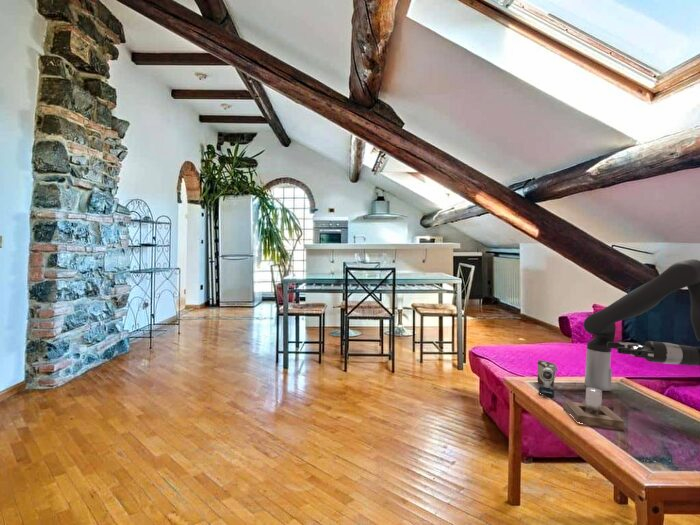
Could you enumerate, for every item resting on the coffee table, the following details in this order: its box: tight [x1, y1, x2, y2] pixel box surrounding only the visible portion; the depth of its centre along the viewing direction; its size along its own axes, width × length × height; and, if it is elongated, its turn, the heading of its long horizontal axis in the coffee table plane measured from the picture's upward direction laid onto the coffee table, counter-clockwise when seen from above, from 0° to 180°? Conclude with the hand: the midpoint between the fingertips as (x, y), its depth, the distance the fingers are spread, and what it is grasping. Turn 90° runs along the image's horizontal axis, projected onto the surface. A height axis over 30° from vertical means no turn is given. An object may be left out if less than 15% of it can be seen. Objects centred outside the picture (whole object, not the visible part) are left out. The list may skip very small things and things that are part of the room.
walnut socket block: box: [563, 400, 625, 431], centre depth 133 cm, size 14×14×4 cm
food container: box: [536, 359, 558, 387], centre depth 169 cm, size 12×6×10 cm, turn 171°
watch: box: [538, 367, 556, 398], centre depth 157 cm, size 6×8×11 cm
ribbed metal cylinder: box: [584, 387, 603, 415], centre depth 133 cm, size 5×5×10 cm
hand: (612, 347), depth 141 cm, fingers open, 8 cm apart
